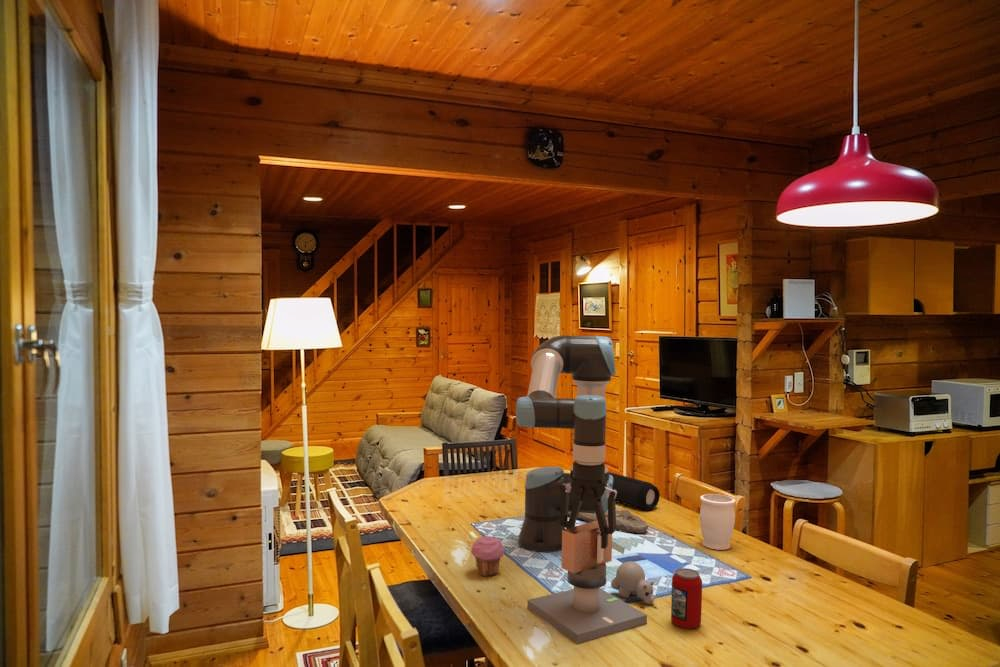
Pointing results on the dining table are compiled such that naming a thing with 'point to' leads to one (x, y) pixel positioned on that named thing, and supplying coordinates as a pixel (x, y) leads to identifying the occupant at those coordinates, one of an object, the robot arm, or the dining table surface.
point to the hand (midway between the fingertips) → (586, 558)
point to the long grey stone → (619, 521)
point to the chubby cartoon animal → (633, 582)
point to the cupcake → (487, 554)
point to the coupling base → (586, 613)
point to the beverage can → (686, 598)
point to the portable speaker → (635, 492)
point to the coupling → (584, 556)
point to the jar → (717, 520)
